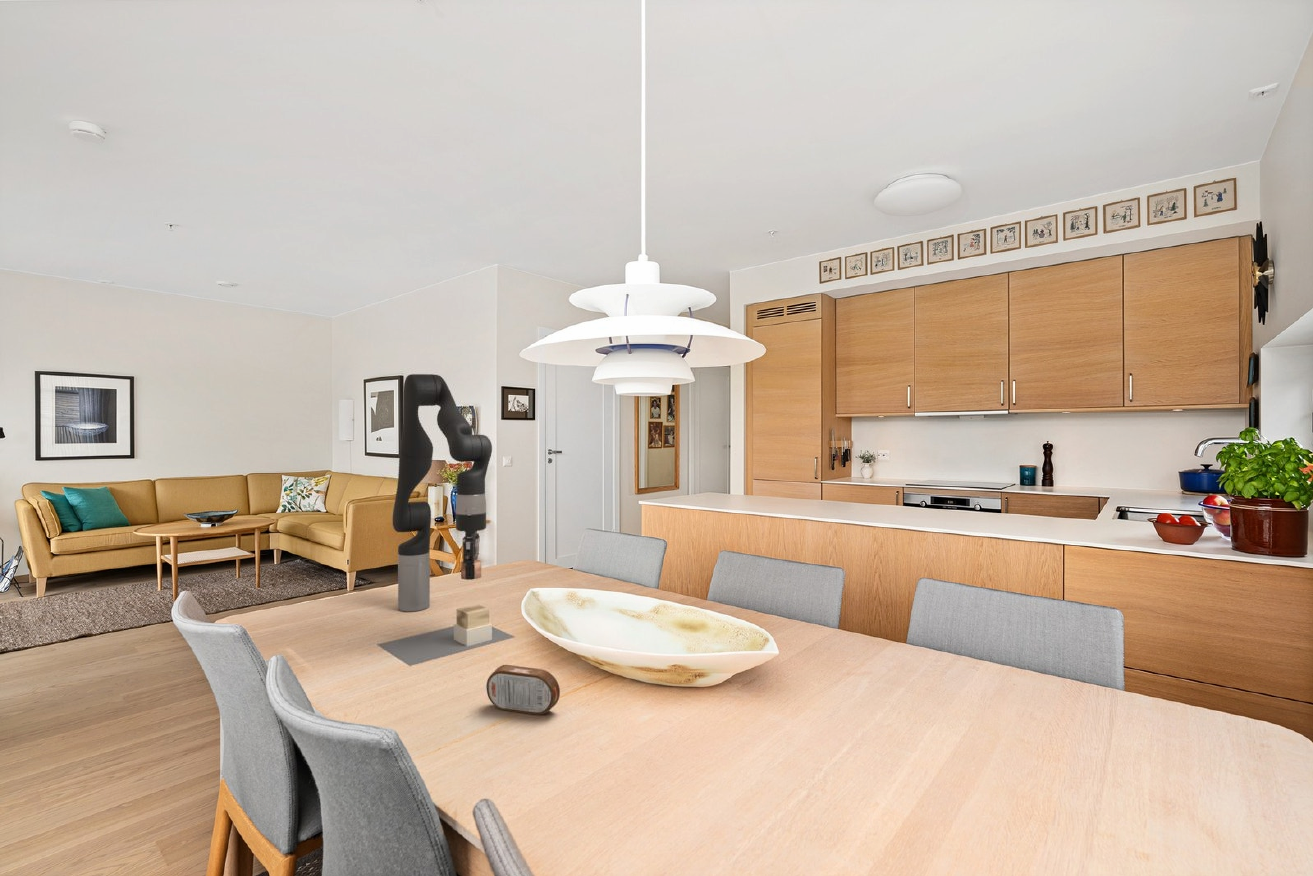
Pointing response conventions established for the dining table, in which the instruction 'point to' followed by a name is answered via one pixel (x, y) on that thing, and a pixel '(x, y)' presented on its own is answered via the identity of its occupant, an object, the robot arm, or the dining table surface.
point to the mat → (434, 645)
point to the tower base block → (472, 634)
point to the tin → (523, 689)
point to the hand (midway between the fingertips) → (471, 576)
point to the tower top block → (472, 616)
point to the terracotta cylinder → (477, 570)
